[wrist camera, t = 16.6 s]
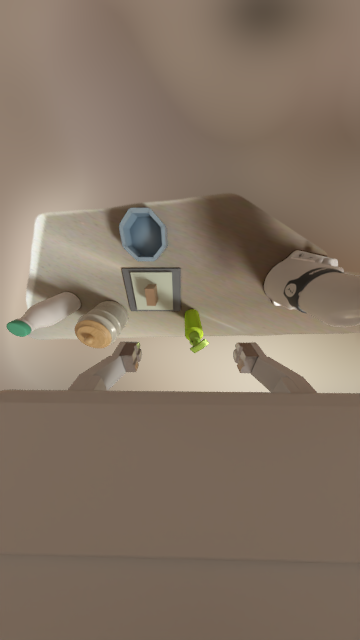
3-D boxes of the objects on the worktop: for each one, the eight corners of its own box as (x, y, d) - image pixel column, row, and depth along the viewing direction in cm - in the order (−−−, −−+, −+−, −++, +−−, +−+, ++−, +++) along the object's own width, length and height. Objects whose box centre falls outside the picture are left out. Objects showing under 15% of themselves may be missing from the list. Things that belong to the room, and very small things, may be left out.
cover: (171, 271, 45) (170, 275, 40) (173, 308, 52) (172, 316, 47) (131, 271, 45) (124, 275, 40) (138, 308, 52) (133, 315, 47)
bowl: (166, 212, 37) (163, 207, 32) (168, 258, 43) (166, 261, 38) (124, 212, 37) (115, 207, 32) (132, 258, 43) (125, 261, 38)
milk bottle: (67, 287, 49) (4, 311, 31) (85, 302, 52) (37, 332, 35) (56, 299, 51) (-7, 327, 34) (75, 313, 54) (25, 345, 37)
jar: (110, 330, 59) (85, 361, 44) (90, 306, 53) (52, 332, 37) (135, 321, 56) (117, 351, 41) (116, 294, 50) (88, 317, 35)
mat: (180, 268, 45) (180, 268, 44) (180, 310, 53) (180, 311, 52) (122, 268, 45) (121, 268, 44) (131, 310, 53) (130, 310, 53)
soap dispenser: (203, 314, 54) (213, 348, 37) (190, 323, 56) (194, 359, 39) (194, 304, 52) (200, 335, 34) (181, 315, 54) (181, 349, 37)
